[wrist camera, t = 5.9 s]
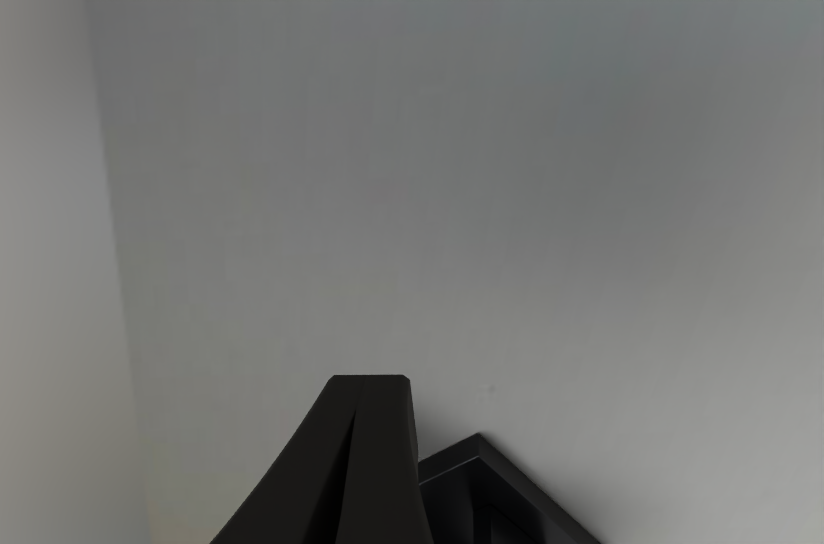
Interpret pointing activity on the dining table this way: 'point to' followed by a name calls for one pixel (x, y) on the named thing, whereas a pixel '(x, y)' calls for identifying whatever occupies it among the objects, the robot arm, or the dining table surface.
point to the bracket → (489, 501)
